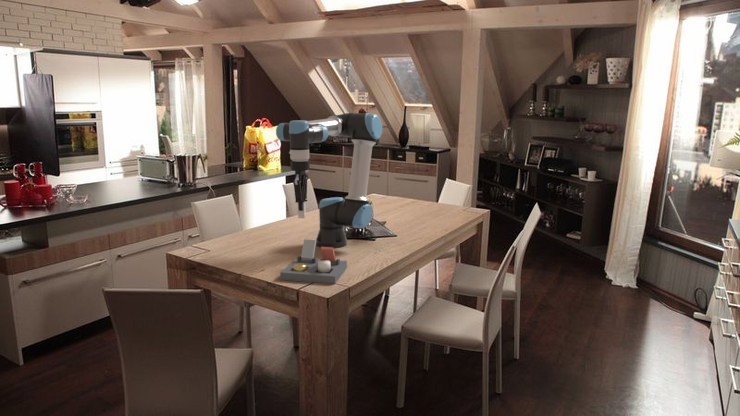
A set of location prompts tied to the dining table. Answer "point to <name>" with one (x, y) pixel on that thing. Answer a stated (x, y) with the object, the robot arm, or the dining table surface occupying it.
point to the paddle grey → (308, 250)
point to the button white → (324, 266)
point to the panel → (314, 272)
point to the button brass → (300, 267)
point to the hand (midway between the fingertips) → (301, 217)
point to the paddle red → (328, 254)
